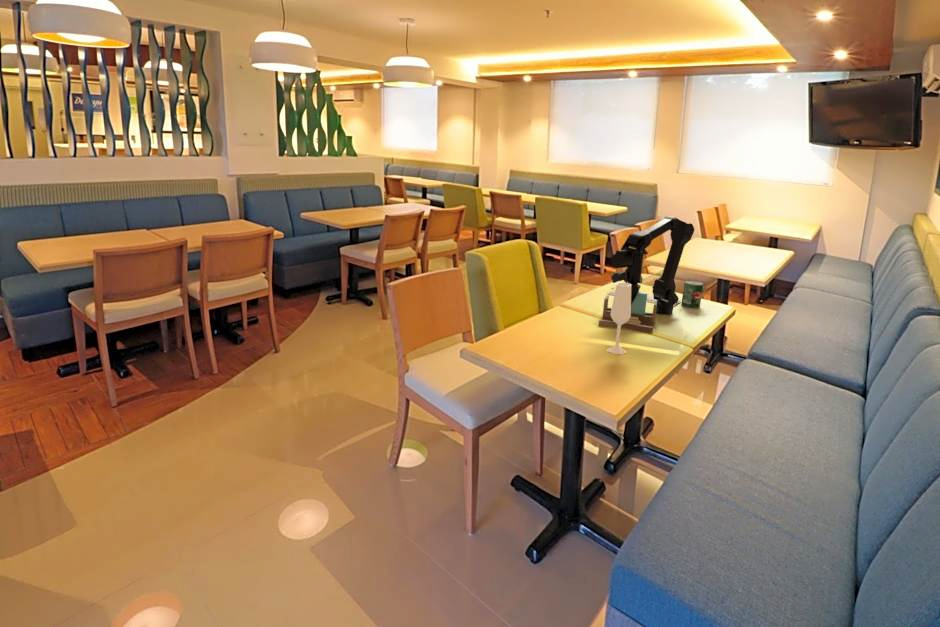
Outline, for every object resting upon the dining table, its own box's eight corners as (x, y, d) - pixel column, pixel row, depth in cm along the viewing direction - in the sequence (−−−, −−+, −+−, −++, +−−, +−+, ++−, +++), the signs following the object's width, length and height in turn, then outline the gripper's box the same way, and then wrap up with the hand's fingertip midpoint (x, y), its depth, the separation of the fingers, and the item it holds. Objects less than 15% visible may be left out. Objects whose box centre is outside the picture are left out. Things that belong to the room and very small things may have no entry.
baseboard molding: (672, 309, 239) (680, 303, 249) (673, 302, 238) (681, 297, 248) (606, 296, 257) (616, 291, 266) (607, 290, 256) (616, 285, 265)
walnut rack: (604, 315, 226) (607, 294, 223) (654, 321, 219) (657, 300, 217) (598, 328, 210) (600, 305, 207) (651, 335, 203) (654, 312, 201)
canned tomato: (681, 302, 247) (685, 279, 244) (700, 305, 244) (704, 281, 240) (680, 307, 240) (683, 283, 237) (699, 309, 237) (703, 285, 234)
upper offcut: (616, 318, 213) (616, 315, 213) (637, 320, 211) (638, 317, 211) (616, 322, 208) (616, 319, 208) (638, 324, 207) (638, 321, 206)
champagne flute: (630, 352, 187) (638, 285, 179) (616, 355, 183) (624, 287, 176) (615, 346, 192) (623, 280, 185) (602, 349, 189) (609, 283, 181)
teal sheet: (614, 310, 220) (616, 289, 217) (644, 314, 216) (647, 292, 213) (613, 311, 218) (615, 290, 216) (644, 315, 214) (647, 294, 212)
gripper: (616, 259, 222) (612, 295, 227) (610, 268, 206) (606, 307, 210) (644, 262, 219) (640, 299, 223) (640, 271, 202) (635, 311, 207)
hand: (630, 303), depth 216 cm, fingers closed on teal sheet, 2 cm apart
